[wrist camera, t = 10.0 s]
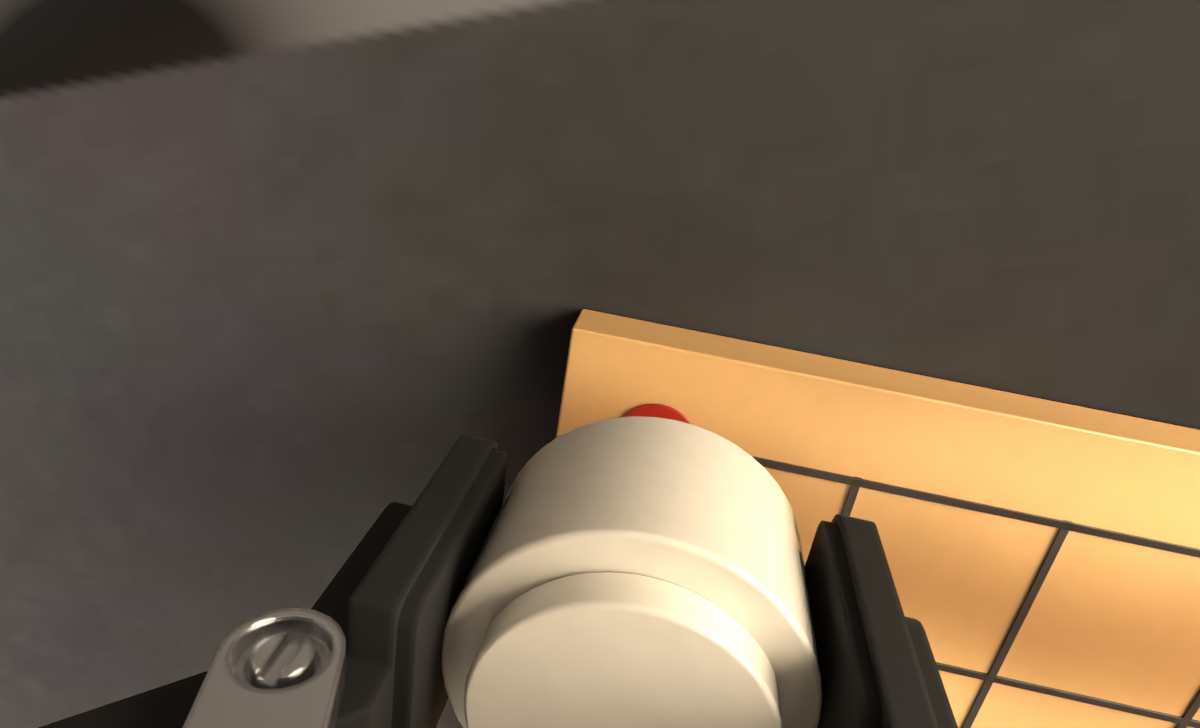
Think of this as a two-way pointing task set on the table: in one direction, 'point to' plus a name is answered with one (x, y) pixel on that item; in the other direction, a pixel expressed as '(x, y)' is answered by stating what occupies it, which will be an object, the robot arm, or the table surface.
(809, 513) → the board
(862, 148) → the table surface
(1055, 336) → the table surface
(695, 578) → the tan tin with lid
